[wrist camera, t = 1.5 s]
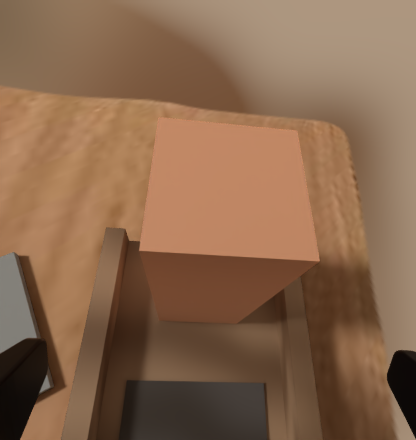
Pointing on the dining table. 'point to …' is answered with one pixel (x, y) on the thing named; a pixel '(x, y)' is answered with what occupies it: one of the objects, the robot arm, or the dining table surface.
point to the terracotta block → (224, 219)
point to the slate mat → (16, 309)
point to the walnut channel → (188, 366)
